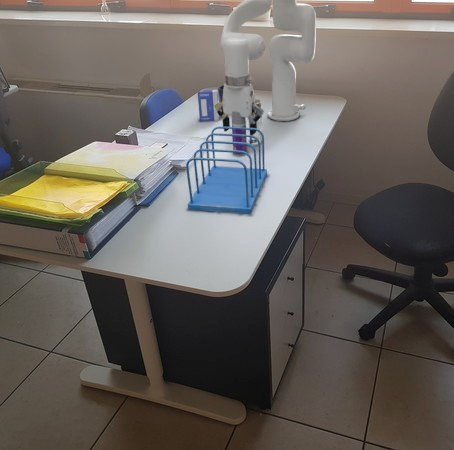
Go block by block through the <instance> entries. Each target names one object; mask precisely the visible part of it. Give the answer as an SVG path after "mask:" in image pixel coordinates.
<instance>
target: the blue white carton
mask: <svg viewBox="0 0 454 450" xmlns="http://www.w3.org/2000/svg"><path fill="white" fill-rule="evenodd" d="M197 102H198V114H199V122H215V121H217V122H219V121H220V116H219V114H218V113H217V111H216V109H215V105H216V104H218V103H219V96H218V89H207V90H206V89H205V90H203V89H201V90H197Z"/></svg>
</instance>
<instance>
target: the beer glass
mask: <svg viewBox="0 0 454 450" xmlns="http://www.w3.org/2000/svg"><path fill="white" fill-rule="evenodd" d="M255 105H257V106H259V107H260V108H262V100H261V99H258V98H255ZM262 109H263V108H262ZM254 114H255V116H257V115H258V112H257V111H256V112H255V113H254ZM262 119H263V116H262V117H261V118H260V119H259V120H258V121H257V129H259V130H260V131H261V126H262ZM250 124H251V121H250V120H249V119H248V117H247V118H246V128H250ZM246 135H250V130H246ZM253 136H255V137H257V138H258V139H259V141H260V144H262V137H261V134H260V133H259V132H258V131H256V133H255V134H254V135H253ZM246 141H247V143H249V144H251V145H253V146H254V147H255V146H258V142H257V140H256V139H254V138H252V137H246Z"/></svg>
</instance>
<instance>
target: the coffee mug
mask: <svg viewBox="0 0 454 450" xmlns="http://www.w3.org/2000/svg"><path fill="white" fill-rule="evenodd" d="M223 89H224V84H222V85H218V87H217V91H218V92H217V93H218V103H220V102H222V101H223ZM221 110H223V106H221Z"/></svg>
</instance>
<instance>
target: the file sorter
mask: <svg viewBox="0 0 454 450" xmlns="http://www.w3.org/2000/svg"><path fill="white" fill-rule="evenodd" d="M218 129H219V130H220V129H221V130H224V129H229V130H232V129H241V130H256V131H258V132H259V133H260V137H261V143H260V141H259V139H258V138H257V137H255V136H253V135H242V134H232V133H223V132H222V133H219V132H218V133H217V132H215V131H216V130H218ZM214 136H215V137H216V136H217V137H232V136H237V137H252V138H254V139H256V140H257V142H258V145H257V146H258V164H257V149H256V148H255V146H253V145H251V144H249V143H244V142H233V141H224V140H214ZM209 138H211V140H209ZM209 144H211V148H209ZM215 144H220V145H221V144H222V145H223V144H224V145H233V144H238V145H247V146H248V147H250V148H251V149H252V151H253V158H252V156H251V154H249V152H248V151H247V152H245V151H238V150H233V149H217V148H215ZM204 145H205V148H203V146H204ZM261 151H262V152H261ZM203 152H206V157H203ZM210 152H212V157H210ZM198 153H199V157H197V154H198ZM216 153H230V154H231V153H232V154H233V153H243V154H246V155H245V156H246V157H248V159H249V167H247V166H246V164H245V163H244V162H243V161H241V160H239V159H231V158H216V155H215V154H216ZM261 153H262V154H261ZM261 156H262V157H261ZM197 161H200V166H201V167H200V168H201V176H202V177H201V178H202V181H201V183H200V185H199V176H198V168H197V167H198V166H197ZM204 161H206V162H207V174H206V176H205V169H204V168H205V167H204ZM191 162H193V166H194V177H195V183H196V191H195V192H194V194H193V192H192V184H191V176H190V175H191V174H190V168H189V165H190V163H191ZM210 162H213V166H212V167H211V164H210ZM216 162H225V163H226V162H228V163H238V164H239V165H241V166H242V167H238V166H237V167H236V166H235V167H234V166H219V165H217V163H216ZM253 162H254V163H253ZM253 164H254V168H253ZM257 165H258V167H257ZM185 168H186V178H187V184H188V192H189V193H188V194H189V202H188V203H187V209H188V210H191V211H204V212H205V211H206V212H217V213H232V214H245V215H251V214H252V212H253V209H254V207H255V204H256V202H257V199H258V198H259V195H260V192H261V190H262V188H263V185H264V183H265V180H266V178H267V175H268V169H266V168H265V137H264V133H263V131H261V129H260V130H259V129H256V128H244V127H232V126H230V127H223V126H216V127H214V128H213V129H212V130H211V132H210V134H209V135H207V137H206V139H205V141H202V142H201V144H200V145H199V149H197V150H196V151H195V152H194V153H193V157H191V158H189V159H188V160H187V162H186V164H185Z"/></svg>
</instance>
